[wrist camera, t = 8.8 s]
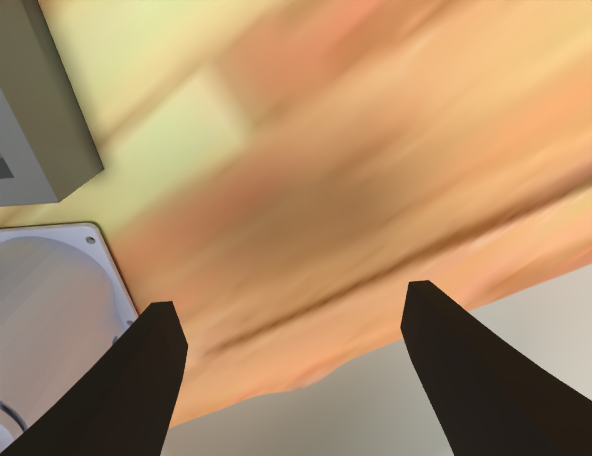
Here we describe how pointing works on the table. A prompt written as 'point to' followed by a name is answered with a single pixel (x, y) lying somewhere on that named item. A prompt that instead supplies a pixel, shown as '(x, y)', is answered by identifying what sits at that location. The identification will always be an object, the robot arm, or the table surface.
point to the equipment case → (38, 114)
